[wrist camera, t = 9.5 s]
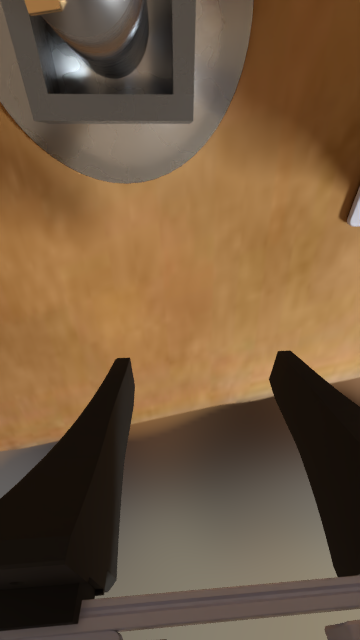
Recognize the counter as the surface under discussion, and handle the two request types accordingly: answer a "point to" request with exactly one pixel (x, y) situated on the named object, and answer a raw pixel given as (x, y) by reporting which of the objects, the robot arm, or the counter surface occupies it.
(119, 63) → the shaft
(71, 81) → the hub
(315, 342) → the counter surface
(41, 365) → the counter surface
